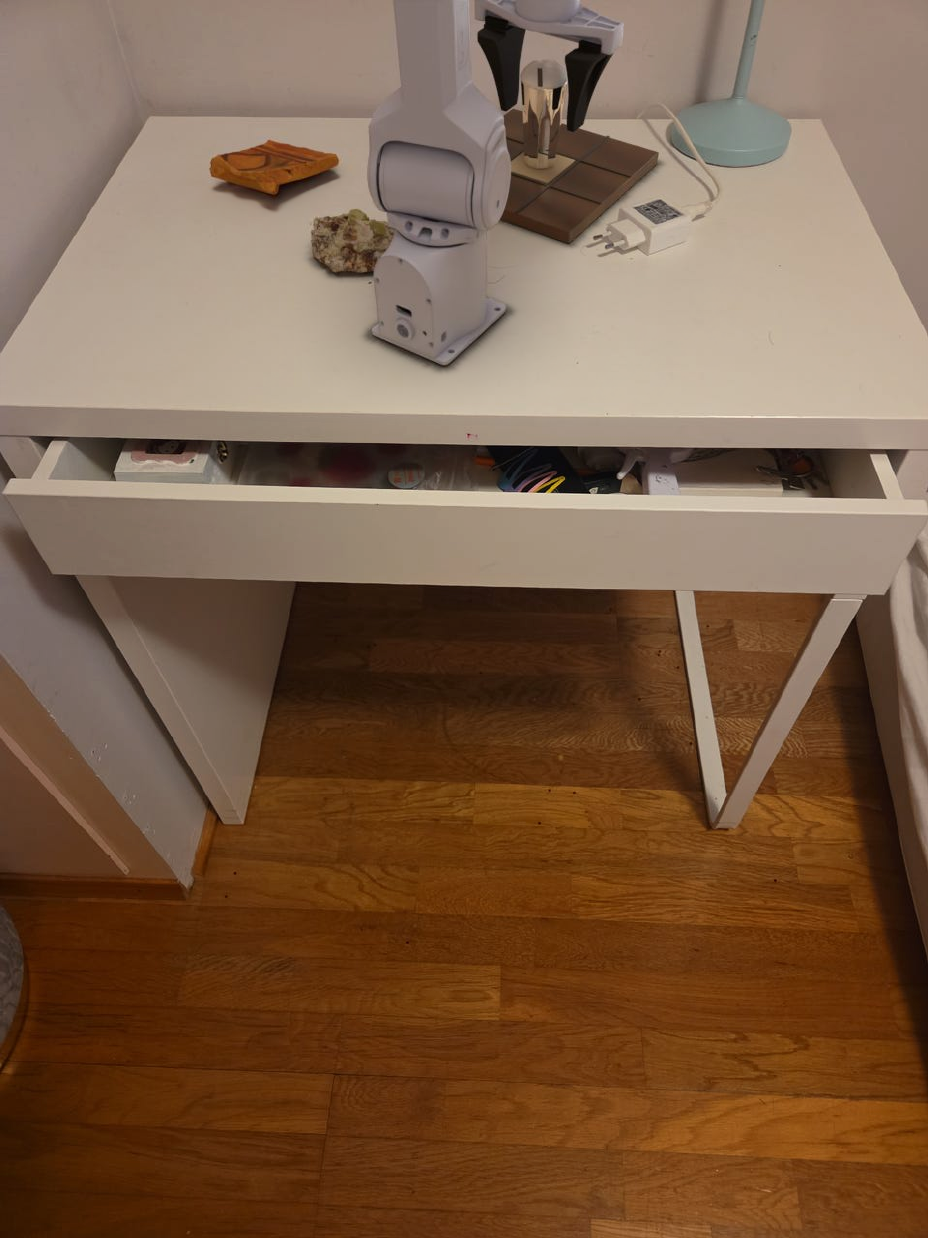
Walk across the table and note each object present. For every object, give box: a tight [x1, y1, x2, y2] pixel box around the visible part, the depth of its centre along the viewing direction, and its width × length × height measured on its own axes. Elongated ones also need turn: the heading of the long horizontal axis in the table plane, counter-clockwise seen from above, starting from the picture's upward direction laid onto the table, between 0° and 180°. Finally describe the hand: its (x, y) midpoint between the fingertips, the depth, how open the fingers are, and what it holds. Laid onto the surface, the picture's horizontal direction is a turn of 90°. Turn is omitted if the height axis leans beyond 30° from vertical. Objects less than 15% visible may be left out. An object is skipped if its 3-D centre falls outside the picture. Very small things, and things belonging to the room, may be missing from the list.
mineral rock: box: [310, 208, 395, 274], centre depth 82 cm, size 11×4×8 cm
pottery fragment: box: [208, 139, 340, 196], centre depth 90 cm, size 10×5×10 cm
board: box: [500, 108, 660, 244], centre depth 91 cm, size 18×18×1 cm
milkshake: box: [519, 59, 568, 169], centre depth 86 cm, size 5×5×10 cm
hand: (541, 116), depth 86 cm, fingers open, 7 cm apart
